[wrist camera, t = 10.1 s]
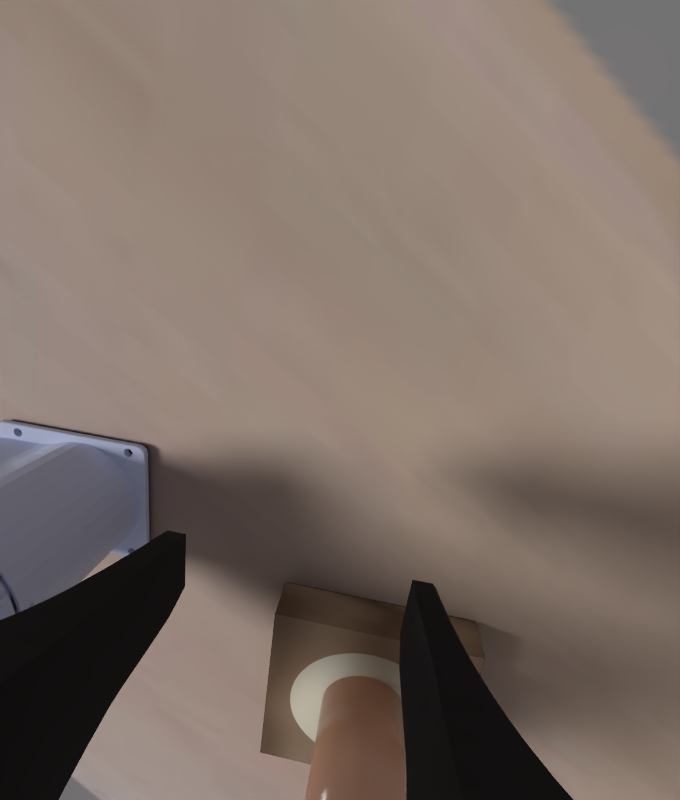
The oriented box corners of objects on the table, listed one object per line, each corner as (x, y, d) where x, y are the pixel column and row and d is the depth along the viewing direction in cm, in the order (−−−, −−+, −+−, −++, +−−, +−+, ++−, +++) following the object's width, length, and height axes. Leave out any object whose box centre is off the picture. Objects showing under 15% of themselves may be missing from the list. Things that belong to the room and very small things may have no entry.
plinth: (271, 713, 29) (260, 752, 27) (285, 582, 26) (274, 614, 23) (435, 751, 28) (439, 796, 26) (476, 621, 25) (485, 659, 22)
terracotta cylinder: (319, 726, 25) (297, 856, 20) (325, 668, 24) (304, 792, 18) (397, 743, 25) (398, 881, 19) (410, 685, 23) (414, 818, 18)
